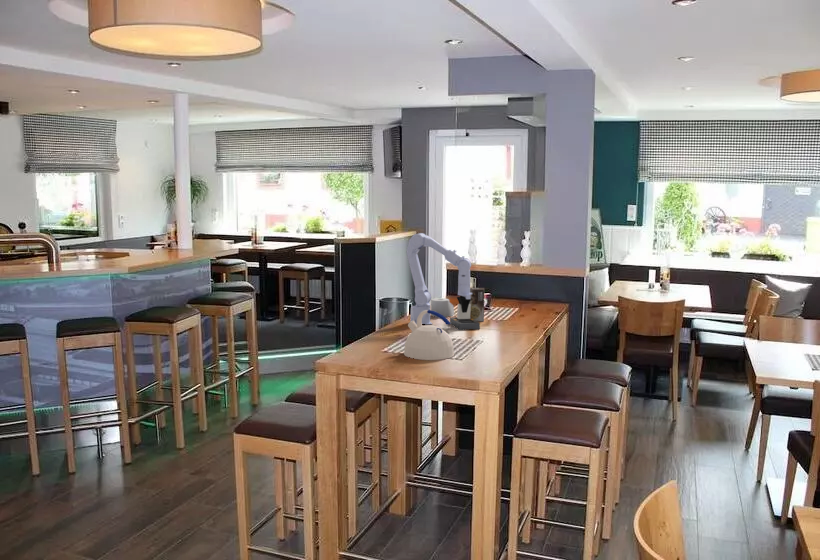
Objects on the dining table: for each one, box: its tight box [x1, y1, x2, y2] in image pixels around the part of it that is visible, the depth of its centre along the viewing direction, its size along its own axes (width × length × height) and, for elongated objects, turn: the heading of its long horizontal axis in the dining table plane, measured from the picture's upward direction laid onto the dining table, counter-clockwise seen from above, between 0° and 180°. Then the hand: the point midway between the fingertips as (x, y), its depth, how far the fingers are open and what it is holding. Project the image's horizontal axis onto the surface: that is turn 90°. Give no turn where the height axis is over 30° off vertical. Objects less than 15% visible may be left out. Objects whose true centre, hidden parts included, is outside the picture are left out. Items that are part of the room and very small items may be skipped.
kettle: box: [403, 309, 455, 361], centre depth 285 cm, size 20×21×18 cm
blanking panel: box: [456, 303, 471, 319], centre depth 345 cm, size 6×2×7 cm, turn 102°
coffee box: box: [469, 287, 485, 322], centre depth 359 cm, size 9×6×16 cm
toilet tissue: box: [430, 297, 455, 318], centre depth 372 cm, size 9×13×9 cm
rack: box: [449, 316, 481, 331], centre depth 344 cm, size 10×16×3 cm, turn 13°
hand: (463, 312), depth 345 cm, fingers closed on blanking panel, 2 cm apart
